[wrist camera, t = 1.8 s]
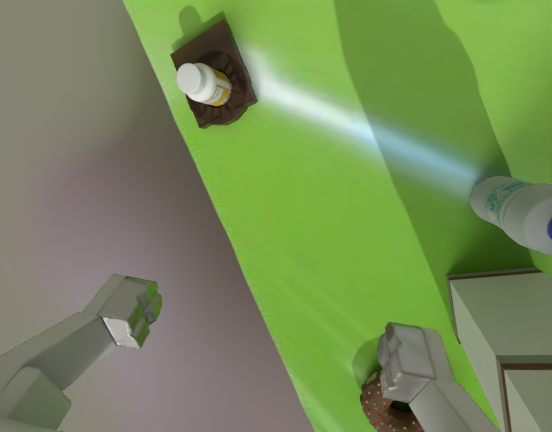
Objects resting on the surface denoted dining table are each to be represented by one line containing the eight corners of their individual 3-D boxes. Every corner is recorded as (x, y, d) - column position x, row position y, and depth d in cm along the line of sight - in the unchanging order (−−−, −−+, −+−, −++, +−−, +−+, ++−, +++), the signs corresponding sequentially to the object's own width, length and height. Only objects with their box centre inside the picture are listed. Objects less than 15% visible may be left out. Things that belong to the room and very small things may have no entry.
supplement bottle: (204, 75, 51) (169, 60, 42) (233, 71, 49) (202, 54, 40) (208, 108, 52) (174, 100, 43) (236, 105, 50) (206, 96, 41)
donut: (381, 432, 55) (383, 458, 51) (349, 370, 55) (347, 391, 50) (462, 419, 50) (471, 447, 46) (427, 351, 50) (433, 372, 45)
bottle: (453, 202, 44) (517, 243, 25) (487, 163, 41) (586, 176, 23) (494, 228, 43) (592, 291, 24) (531, 190, 40) (671, 227, 22)
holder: (175, 58, 51) (169, 55, 50) (229, 23, 47) (224, 18, 46) (206, 135, 53) (201, 135, 51) (261, 108, 49) (257, 107, 47)
